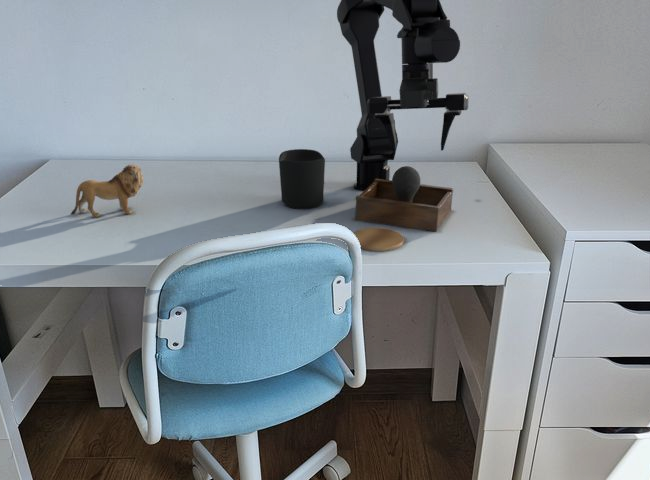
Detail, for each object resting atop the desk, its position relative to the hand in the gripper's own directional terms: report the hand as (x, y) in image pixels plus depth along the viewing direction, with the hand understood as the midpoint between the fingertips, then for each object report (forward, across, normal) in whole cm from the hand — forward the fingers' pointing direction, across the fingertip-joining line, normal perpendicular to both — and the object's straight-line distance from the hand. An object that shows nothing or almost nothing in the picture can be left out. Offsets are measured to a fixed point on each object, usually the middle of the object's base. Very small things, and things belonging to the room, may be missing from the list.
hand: (418, 150), depth 135 cm
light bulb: (+13, -3, +1) cm, 13 cm away
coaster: (+14, -6, -13) cm, 21 cm away
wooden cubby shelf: (+13, -3, +1) cm, 13 cm away
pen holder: (+11, -25, +4) cm, 27 cm away
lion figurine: (+9, -60, -12) cm, 62 cm away
